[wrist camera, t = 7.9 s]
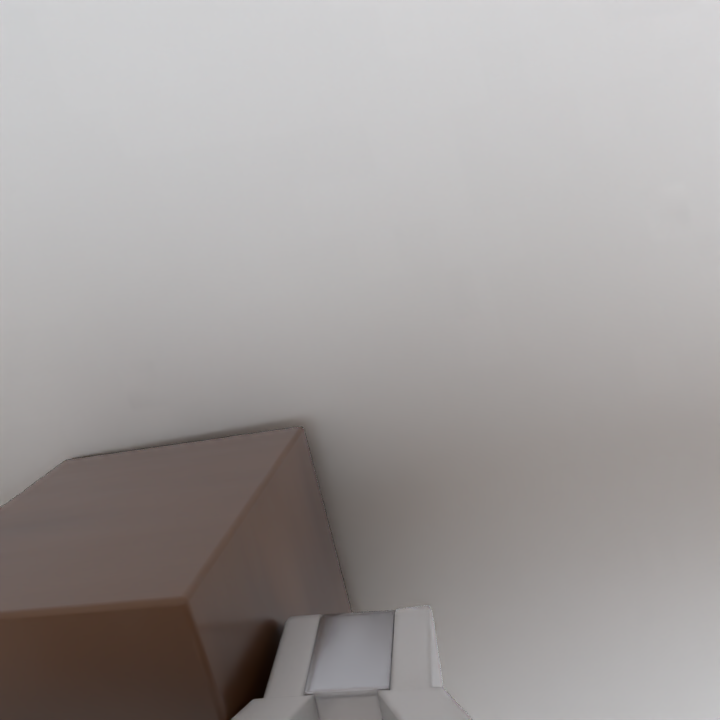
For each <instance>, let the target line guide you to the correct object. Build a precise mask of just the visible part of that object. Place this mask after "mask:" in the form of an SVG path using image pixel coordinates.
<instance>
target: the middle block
mask: <svg viewBox="0 0 720 720" xmlns="http://www.w3.org/2000/svg"><path fill="white" fill-rule="evenodd" d="M351 612H352V611H351V607H350V603H349V600H348V596H347V592H346V588H345V584H344V580H343V576H342V573H341V569H340V565H339V561H338V557H337V553H336V550H335V546H334V542H333V538H332V534H331V530H330V527H329V523H328V519H327V515H326V511H325V507H324V503H323V500H322V496H321V492H320V488H319V484H318V480H317V477H316V473H315V469H314V465H313V461H312V457H311V453H310V450H309V446H308V442H307V438H306V434H305V430H304V428H303V427H293V428H286V429H279V430H272V431H265V432H258V433H251V434H244V435H237V436H230V437H223V438H216V439H209V440H202V441H195V442H188V443H181V444H174V445H167V446H160V447H153V448H146V449H139V450H132V451H125V452H118V453H111V454H104V455H97V456H90V457H83V458H76V459H69V460H65V461H64V462H62V463H61V464H60V465H58V466H57V467H56V468H54V469H53V470H51V471H50V472H49V473H47V474H46V475H45V476H43V477H42V478H40V479H39V480H38V481H36V482H35V483H34V484H32V485H31V486H30V487H28V488H27V489H25V490H24V491H23V492H21V493H20V494H19V495H17V496H16V497H14V498H13V499H12V500H10V501H9V502H8V503H6V504H5V505H4V506H2V507H1V508H0V720H231V719H232V718H233V717H234V716H235V715H236V714H237V713H238V712H239V711H240V710H242V709H243V708H244V707H245V706H246V705H247V704H248V703H249V702H250V701H252V700H253V699H259V698H263V697H264V693H265V690H266V686H267V683H268V680H269V676H270V673H271V669H272V666H273V662H274V659H275V656H276V652H277V649H278V645H279V642H280V638H281V635H282V632H283V628H284V625H285V622H286V621H287V620H288V619H289V618H290V617H292V616H305V615H319V614H320V615H323V614H334V613H351Z"/></svg>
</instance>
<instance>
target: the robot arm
mask: <svg viewBox="0 0 720 720" xmlns="http://www.w3.org/2000/svg"><path fill="white" fill-rule="evenodd" d="M231 720H472V718H471V717H470V716H469V715H468V714H467V713H466V712H465V711H464V710H463V709H462V708H461V706H460V705H459V704H458V703H457V702H456V701H455V700H454V699H453V698H452V697H451V696H450V694H449V693H448V692H447V691H446V690H445V689H444V688H443V680H442V672H441V665H440V659H439V652H438V645H437V638H436V631H435V624H434V618H433V613H432V609H431V607H430V606H429V605H426V606H417V607H408V608H399V609H396V610H391V611H389V610H387V611H369V612H351V613H334V614H323V615H320V614H319V615H305V616H292V617H290V618H289V619H288V620H287V621H286V622H285V625H284V628H283V632H282V635H281V638H280V642H279V645H278V649H277V652H276V656H275V659H274V662H273V666H272V669H271V673H270V676H269V680H268V683H267V686H266V690H265V693H264V697H263V698H259V699H253V700H252V701H250V702H249V703H248V704H247V705H246V706H245V707H244V708H243V709H242V710H240V711H239V712H238V713H237V714H236V715H235V716H234V717H233V718H232V719H231Z"/></svg>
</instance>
